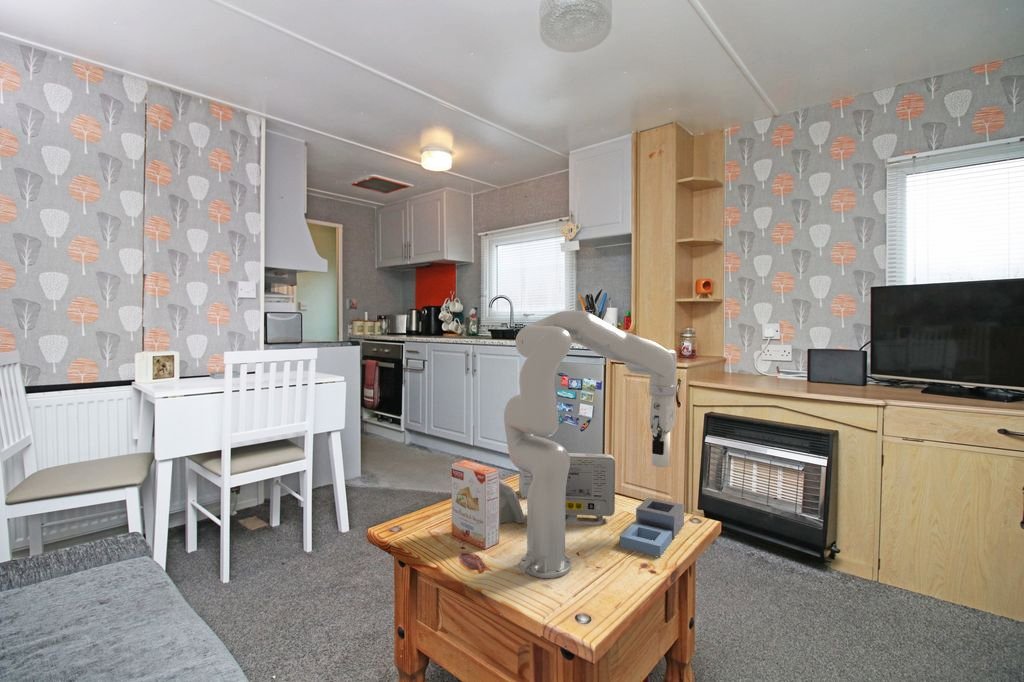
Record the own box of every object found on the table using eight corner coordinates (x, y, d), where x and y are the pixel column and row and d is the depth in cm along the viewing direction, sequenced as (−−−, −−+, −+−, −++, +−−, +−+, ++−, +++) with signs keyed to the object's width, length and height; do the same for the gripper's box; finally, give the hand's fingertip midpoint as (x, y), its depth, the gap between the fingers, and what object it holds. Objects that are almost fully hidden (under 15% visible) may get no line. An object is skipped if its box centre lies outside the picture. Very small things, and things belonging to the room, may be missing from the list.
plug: (666, 468, 142) (667, 433, 142) (649, 465, 145) (650, 431, 145) (671, 464, 147) (672, 430, 146) (654, 461, 149) (655, 428, 149)
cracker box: (450, 535, 141) (450, 463, 140) (466, 529, 145) (466, 458, 145) (484, 551, 132) (484, 473, 131) (500, 543, 136) (500, 468, 135)
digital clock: (526, 525, 148) (526, 490, 148) (496, 528, 146) (496, 492, 146) (515, 506, 164) (515, 474, 164) (488, 507, 162) (488, 475, 162)
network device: (612, 514, 157) (613, 452, 156) (615, 526, 148) (616, 460, 148) (532, 511, 160) (532, 450, 159) (530, 522, 151) (531, 457, 150)
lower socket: (660, 557, 128) (660, 546, 128) (619, 546, 134) (619, 536, 134) (671, 542, 138) (671, 531, 137) (633, 532, 144) (633, 522, 144)
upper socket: (673, 539, 139) (674, 516, 139) (635, 530, 145) (636, 508, 145) (683, 526, 148) (684, 504, 148) (647, 518, 154) (648, 497, 154)
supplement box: (518, 491, 178) (518, 456, 178) (538, 490, 179) (539, 456, 179) (521, 498, 171) (521, 462, 171) (542, 497, 172) (542, 461, 171)
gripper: (666, 395, 136) (665, 460, 137) (682, 389, 150) (681, 448, 151) (640, 392, 140) (638, 456, 141) (658, 387, 154) (656, 444, 155)
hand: (660, 451), depth 146 cm, fingers closed on plug, 4 cm apart
